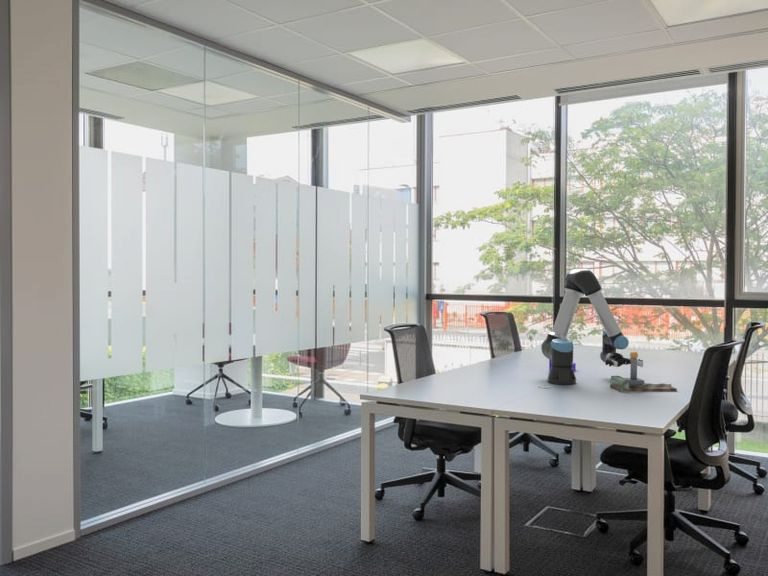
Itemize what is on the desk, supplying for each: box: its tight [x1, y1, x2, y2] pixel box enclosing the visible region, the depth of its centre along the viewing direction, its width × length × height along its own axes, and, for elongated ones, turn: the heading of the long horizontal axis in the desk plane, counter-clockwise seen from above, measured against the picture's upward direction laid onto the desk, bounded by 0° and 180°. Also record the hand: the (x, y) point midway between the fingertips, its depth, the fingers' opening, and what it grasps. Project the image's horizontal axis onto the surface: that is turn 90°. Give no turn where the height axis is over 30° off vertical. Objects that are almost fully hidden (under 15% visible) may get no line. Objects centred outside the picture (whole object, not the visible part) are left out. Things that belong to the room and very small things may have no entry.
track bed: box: [609, 375, 678, 393], centre depth 354 cm, size 30×14×6 cm, turn 92°
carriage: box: [624, 351, 645, 386], centre depth 354 cm, size 8×8×18 cm
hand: (629, 364), depth 360 cm, fingers open, 13 cm apart
